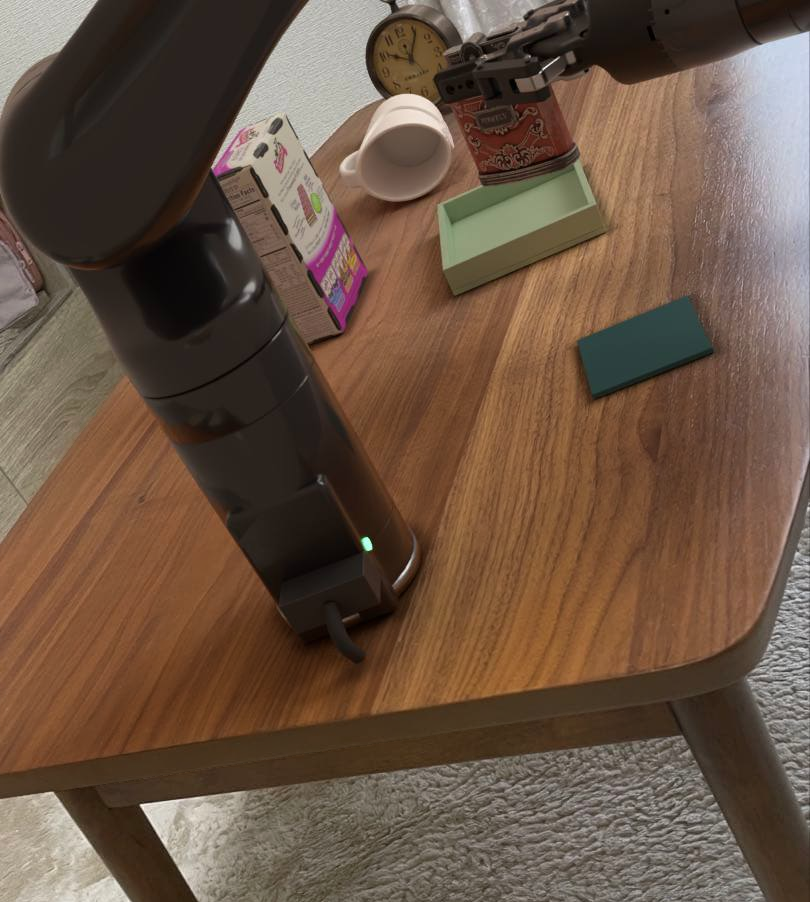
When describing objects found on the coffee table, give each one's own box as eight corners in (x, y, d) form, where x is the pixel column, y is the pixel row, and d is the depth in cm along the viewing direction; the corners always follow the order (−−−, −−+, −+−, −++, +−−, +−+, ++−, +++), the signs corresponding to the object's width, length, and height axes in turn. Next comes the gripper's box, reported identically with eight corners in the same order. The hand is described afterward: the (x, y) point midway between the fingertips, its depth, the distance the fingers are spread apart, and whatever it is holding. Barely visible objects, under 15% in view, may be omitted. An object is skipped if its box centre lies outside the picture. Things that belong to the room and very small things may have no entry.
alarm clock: (392, 132, 146) (330, -2, 138) (408, 112, 150) (349, -20, 141) (473, 106, 140) (414, -36, 132) (487, 86, 144) (431, -53, 135)
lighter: (474, 192, 90) (417, 62, 85) (493, 169, 92) (439, 40, 87) (569, 171, 85) (515, 31, 80) (588, 147, 87) (536, 9, 82)
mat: (714, 352, 78) (712, 347, 78) (593, 399, 80) (591, 394, 80) (688, 300, 85) (687, 295, 84) (578, 344, 86) (576, 340, 86)
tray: (606, 231, 99) (596, 203, 98) (454, 296, 102) (442, 270, 101) (582, 169, 111) (572, 144, 110) (447, 228, 114) (436, 204, 113)
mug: (464, 148, 130) (434, 77, 126) (465, 180, 122) (432, 105, 118) (361, 193, 133) (328, 125, 129) (355, 227, 126) (320, 155, 121)
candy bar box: (323, 289, 116) (238, 128, 107) (370, 273, 114) (287, 107, 105) (293, 351, 107) (198, 182, 99) (344, 335, 105) (251, 160, 97)
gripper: (698, -99, 78) (472, -18, 89) (622, -9, 70) (382, 69, 80) (732, 16, 82) (511, 81, 93) (664, 114, 74) (430, 173, 84)
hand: (453, 75), depth 86 cm, fingers closed on lighter, 3 cm apart
